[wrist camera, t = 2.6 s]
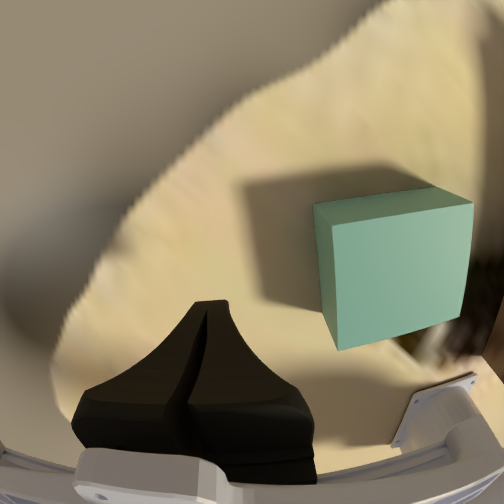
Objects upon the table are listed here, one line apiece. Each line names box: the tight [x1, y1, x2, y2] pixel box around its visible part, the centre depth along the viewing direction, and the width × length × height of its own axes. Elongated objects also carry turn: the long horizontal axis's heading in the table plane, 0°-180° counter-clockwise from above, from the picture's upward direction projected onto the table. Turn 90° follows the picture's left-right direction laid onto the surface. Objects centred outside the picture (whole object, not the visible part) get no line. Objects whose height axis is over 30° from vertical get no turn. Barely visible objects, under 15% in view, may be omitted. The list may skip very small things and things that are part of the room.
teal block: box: [312, 187, 474, 351], centre depth 16 cm, size 7×8×4 cm
